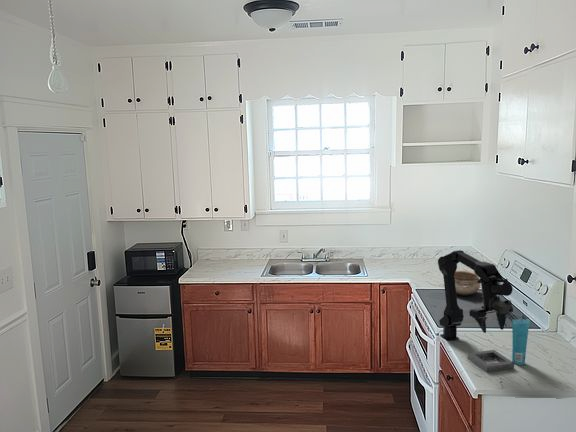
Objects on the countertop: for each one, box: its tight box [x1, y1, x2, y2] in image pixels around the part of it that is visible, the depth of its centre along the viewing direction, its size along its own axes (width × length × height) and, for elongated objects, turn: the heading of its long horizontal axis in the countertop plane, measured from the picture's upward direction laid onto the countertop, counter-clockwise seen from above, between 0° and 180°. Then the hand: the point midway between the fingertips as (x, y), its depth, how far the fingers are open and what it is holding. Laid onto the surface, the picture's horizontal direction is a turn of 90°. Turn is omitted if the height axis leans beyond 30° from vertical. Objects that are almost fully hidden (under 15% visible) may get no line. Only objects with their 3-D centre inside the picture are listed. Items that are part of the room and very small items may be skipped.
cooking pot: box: [454, 270, 481, 297], centre depth 293 cm, size 25×19×12 cm
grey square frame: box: [467, 349, 515, 373], centre depth 204 cm, size 13×13×2 cm
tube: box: [511, 318, 531, 366], centre depth 204 cm, size 7×5×19 cm, turn 96°
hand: (493, 331), depth 204 cm, fingers open, 9 cm apart
